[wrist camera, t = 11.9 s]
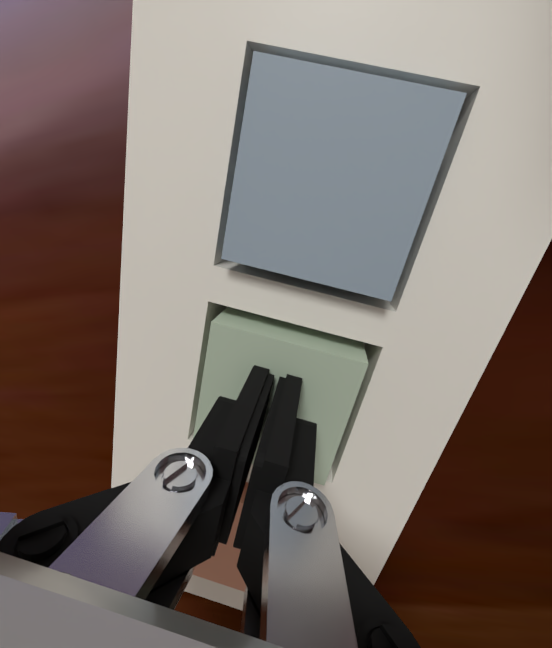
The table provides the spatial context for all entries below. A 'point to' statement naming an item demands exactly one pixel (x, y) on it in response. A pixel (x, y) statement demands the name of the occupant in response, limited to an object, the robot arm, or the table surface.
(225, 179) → the button panel
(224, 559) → the terracotta button
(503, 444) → the table surface
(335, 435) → the sage button
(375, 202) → the slate button
